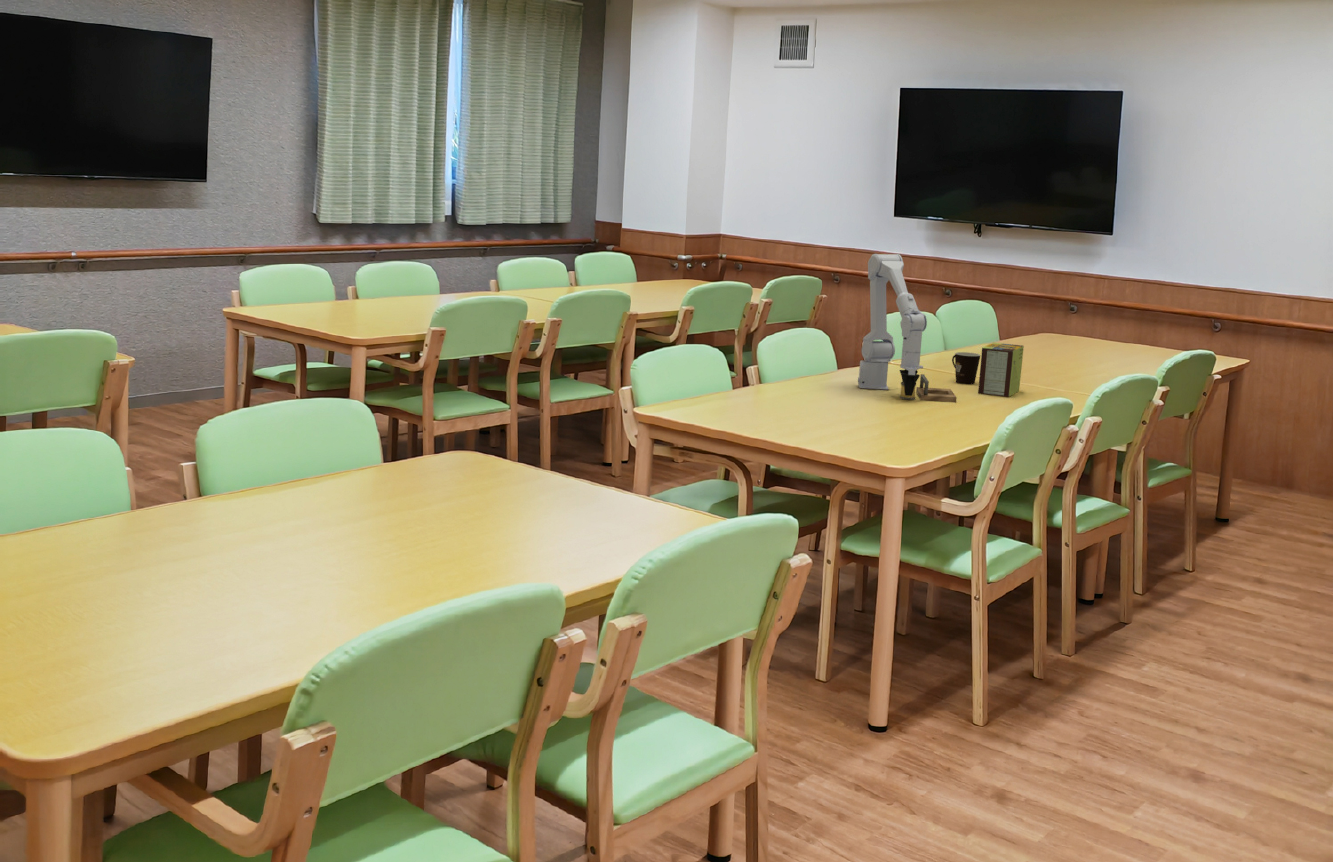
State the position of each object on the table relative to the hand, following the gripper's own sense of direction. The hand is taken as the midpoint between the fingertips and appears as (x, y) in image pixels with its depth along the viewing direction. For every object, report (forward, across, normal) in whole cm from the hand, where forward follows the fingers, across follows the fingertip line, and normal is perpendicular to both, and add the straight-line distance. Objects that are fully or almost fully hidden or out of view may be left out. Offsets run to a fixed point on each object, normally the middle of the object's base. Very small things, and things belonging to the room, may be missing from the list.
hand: (907, 393), depth 383 cm
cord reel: (+1, 0, 0) cm, 1 cm away
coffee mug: (+2, +39, -23) cm, 45 cm away
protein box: (+2, +22, -32) cm, 39 cm away
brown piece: (+1, +6, -10) cm, 11 cm away
